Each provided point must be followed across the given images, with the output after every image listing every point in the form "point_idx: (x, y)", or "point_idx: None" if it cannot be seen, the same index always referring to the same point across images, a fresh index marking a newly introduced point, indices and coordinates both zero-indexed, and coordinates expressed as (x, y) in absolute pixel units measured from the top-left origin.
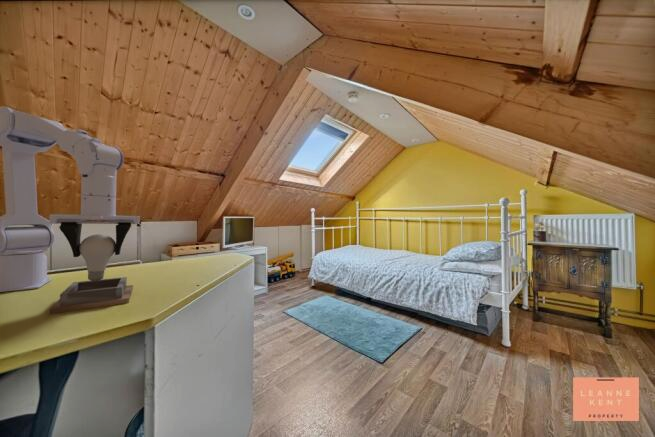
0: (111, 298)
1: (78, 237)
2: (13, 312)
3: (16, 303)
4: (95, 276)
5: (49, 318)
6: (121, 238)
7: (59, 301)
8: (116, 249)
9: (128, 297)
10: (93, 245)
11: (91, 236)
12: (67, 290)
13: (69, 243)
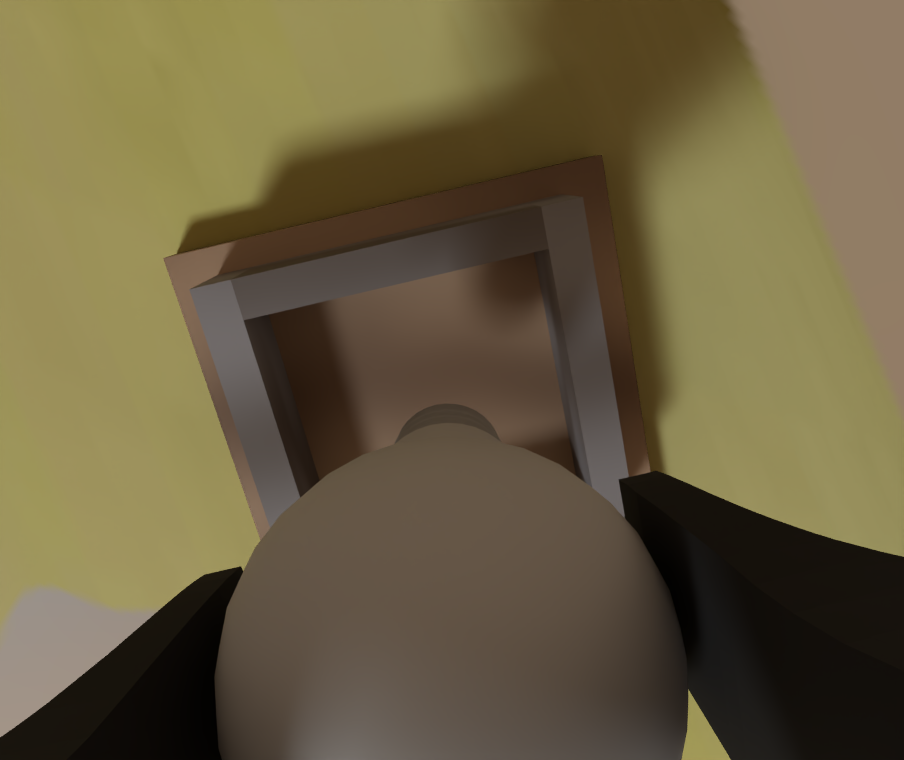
0: (279, 260)
1: (771, 745)
2: (805, 268)
3: (866, 445)
4: (431, 416)
5: (553, 71)
6: (13, 747)
7: (614, 319)
8: (189, 600)
9: (174, 278)
10: (430, 492)
11: (547, 737)
12: (579, 305)
13: (799, 531)
